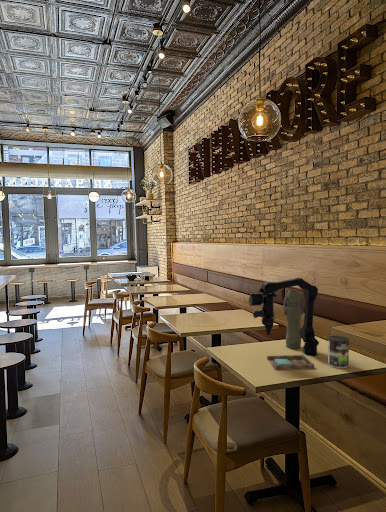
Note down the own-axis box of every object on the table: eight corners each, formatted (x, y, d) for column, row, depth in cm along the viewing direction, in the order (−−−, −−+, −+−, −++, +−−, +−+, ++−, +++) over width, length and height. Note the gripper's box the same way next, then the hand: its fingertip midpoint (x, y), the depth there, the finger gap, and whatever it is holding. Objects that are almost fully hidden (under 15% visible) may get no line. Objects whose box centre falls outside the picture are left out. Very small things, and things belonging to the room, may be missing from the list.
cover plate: (287, 361, 200) (287, 358, 200) (292, 366, 192) (292, 363, 192) (274, 361, 200) (274, 359, 200) (278, 366, 192) (278, 364, 192)
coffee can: (352, 367, 191) (353, 340, 191) (334, 369, 190) (334, 341, 189) (341, 361, 201) (342, 335, 201) (323, 362, 200) (324, 336, 199)
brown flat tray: (303, 359, 205) (303, 354, 205) (314, 369, 189) (314, 365, 189) (266, 360, 204) (267, 355, 204) (274, 370, 188) (274, 365, 188)
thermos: (305, 348, 224) (306, 290, 223) (287, 349, 223) (287, 290, 221) (299, 344, 233) (299, 288, 231) (281, 345, 231) (281, 288, 229)
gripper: (254, 301, 218) (255, 328, 219) (252, 307, 200) (252, 336, 201) (274, 301, 216) (274, 328, 216) (273, 308, 198) (273, 337, 198)
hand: (268, 332), depth 208 cm, fingers open, 9 cm apart
